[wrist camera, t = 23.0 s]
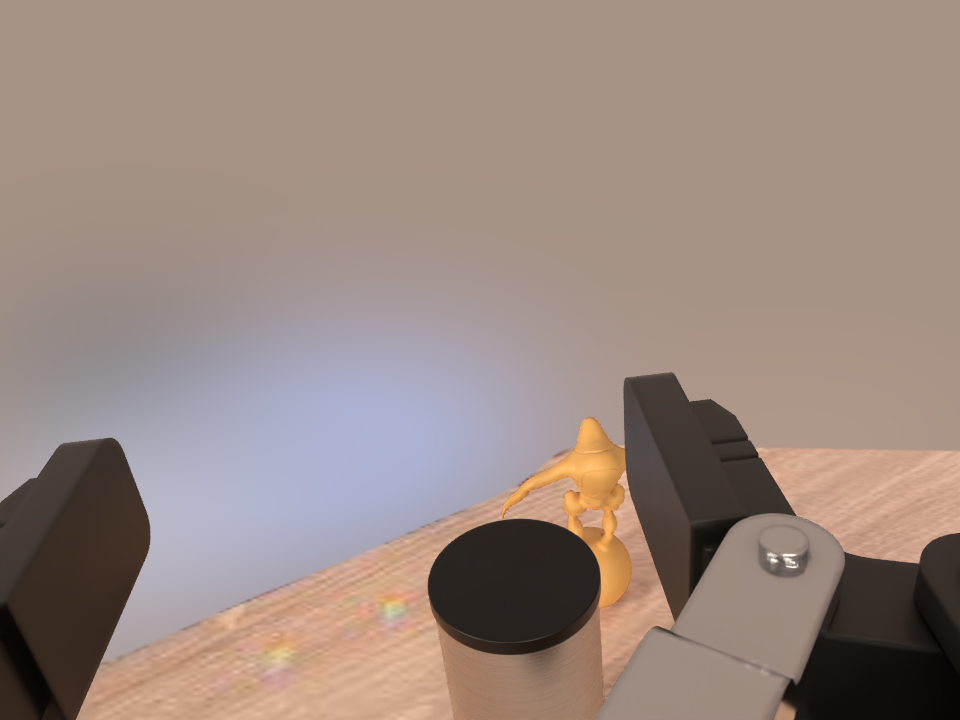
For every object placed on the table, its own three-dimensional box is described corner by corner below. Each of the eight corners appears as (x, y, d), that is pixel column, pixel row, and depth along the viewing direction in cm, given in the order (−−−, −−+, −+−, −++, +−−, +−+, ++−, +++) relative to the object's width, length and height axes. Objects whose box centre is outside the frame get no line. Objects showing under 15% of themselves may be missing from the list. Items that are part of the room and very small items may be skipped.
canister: (469, 872, 31) (427, 652, 25) (464, 735, 36) (427, 528, 30) (625, 854, 31) (616, 630, 25) (597, 720, 36) (585, 509, 30)
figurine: (661, 558, 44) (660, 361, 38) (698, 645, 39) (704, 433, 33) (507, 581, 44) (483, 387, 38) (523, 673, 38) (498, 463, 33)
